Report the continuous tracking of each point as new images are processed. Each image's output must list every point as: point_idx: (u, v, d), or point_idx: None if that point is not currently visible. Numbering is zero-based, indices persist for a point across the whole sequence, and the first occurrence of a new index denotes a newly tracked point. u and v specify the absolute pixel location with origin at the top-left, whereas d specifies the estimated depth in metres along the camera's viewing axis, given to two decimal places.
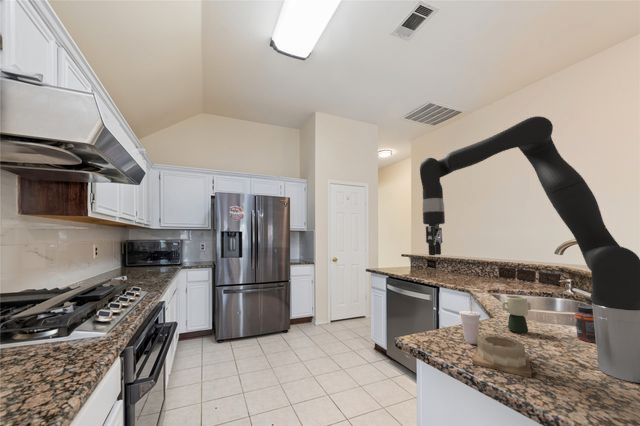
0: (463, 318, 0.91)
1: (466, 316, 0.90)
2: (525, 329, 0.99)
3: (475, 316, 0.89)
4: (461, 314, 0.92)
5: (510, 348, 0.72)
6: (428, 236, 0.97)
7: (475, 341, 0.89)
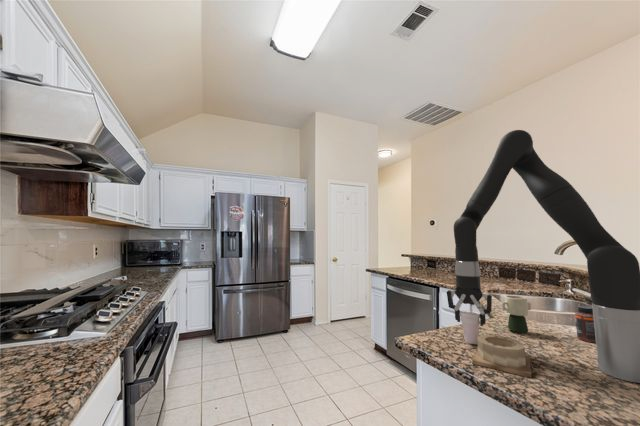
0: (463, 318, 0.91)
1: (466, 316, 0.90)
2: (525, 329, 0.99)
3: (475, 316, 0.89)
4: (461, 314, 0.92)
5: (510, 348, 0.72)
6: (479, 304, 0.90)
7: (475, 341, 0.89)
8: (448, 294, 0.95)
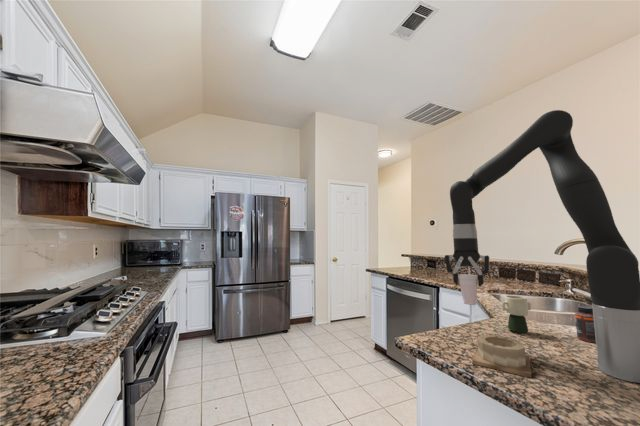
0: (461, 280, 0.92)
1: (464, 277, 0.91)
2: (525, 329, 0.99)
3: (473, 277, 0.90)
4: (459, 276, 0.93)
5: (510, 348, 0.72)
6: (477, 265, 0.91)
7: (474, 301, 0.90)
8: (446, 258, 0.97)
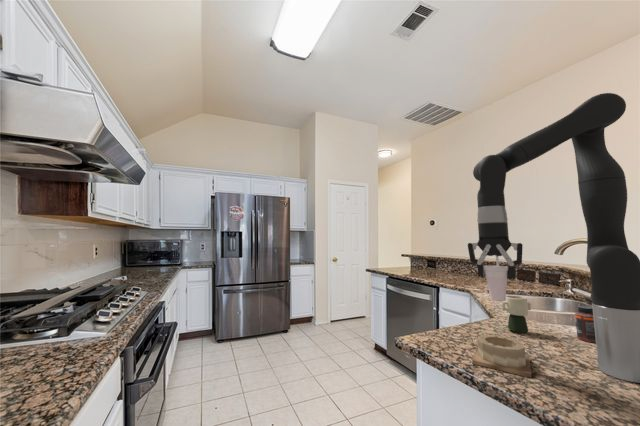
0: (488, 272, 0.78)
1: (492, 269, 0.77)
2: (525, 329, 0.99)
3: (503, 268, 0.76)
4: (486, 268, 0.79)
5: (510, 348, 0.72)
6: (508, 255, 0.76)
7: (503, 297, 0.76)
8: (469, 247, 0.82)
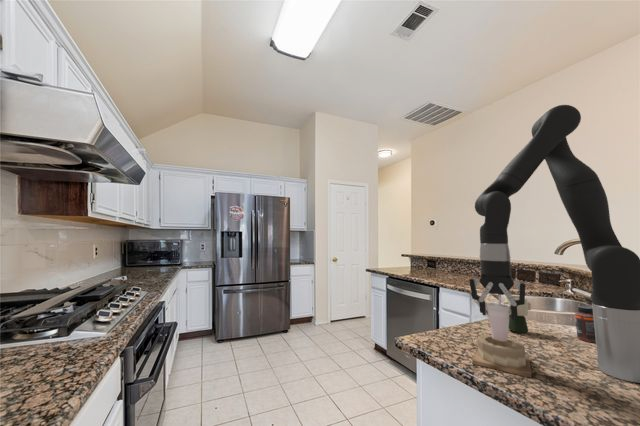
0: (490, 311, 0.77)
1: (494, 308, 0.76)
2: (525, 329, 0.99)
3: (505, 308, 0.75)
4: (488, 306, 0.78)
5: (510, 348, 0.72)
6: (510, 294, 0.75)
7: (505, 337, 0.75)
8: (471, 283, 0.81)
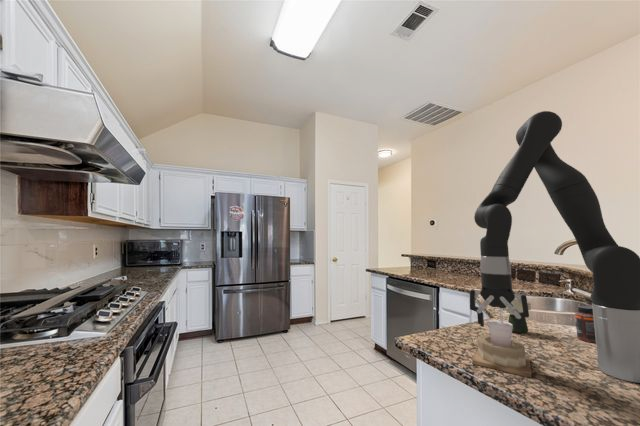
0: (492, 330, 0.76)
1: (496, 327, 0.75)
2: (525, 329, 0.99)
3: (507, 327, 0.74)
4: (489, 325, 0.77)
5: (510, 348, 0.72)
6: (513, 307, 0.75)
7: None
8: (471, 294, 0.81)
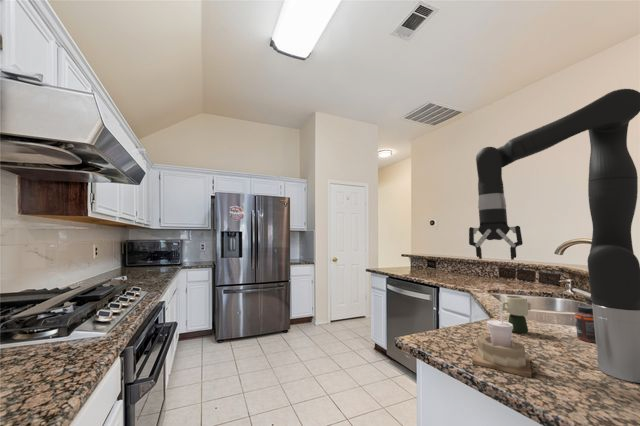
0: (492, 329, 0.76)
1: (496, 327, 0.75)
2: (525, 329, 0.99)
3: (507, 327, 0.74)
4: (489, 325, 0.77)
5: (510, 348, 0.72)
6: None
7: None
8: (470, 230, 0.88)
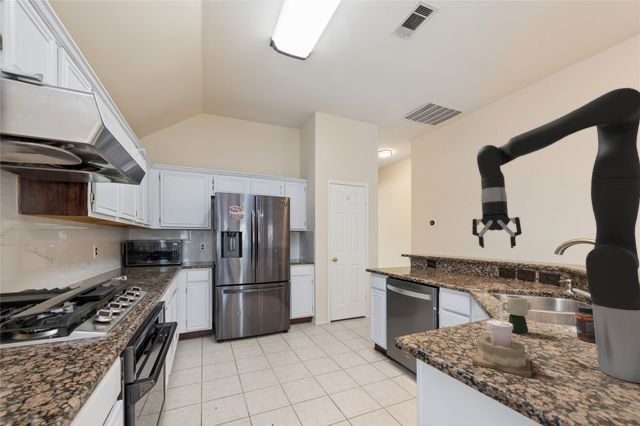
0: (492, 329, 0.76)
1: (496, 327, 0.75)
2: (525, 329, 0.99)
3: (507, 327, 0.74)
4: (489, 324, 0.77)
5: (510, 348, 0.72)
6: None
7: None
8: (474, 222, 0.96)
